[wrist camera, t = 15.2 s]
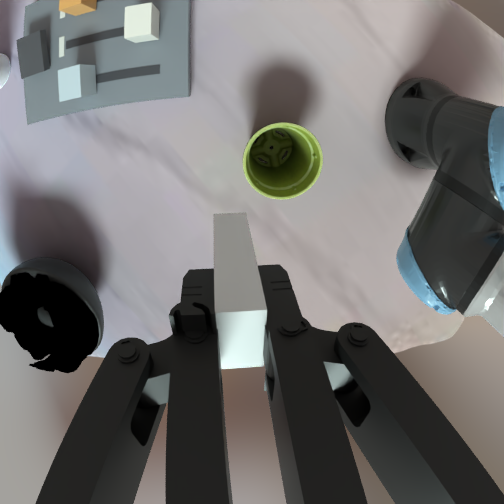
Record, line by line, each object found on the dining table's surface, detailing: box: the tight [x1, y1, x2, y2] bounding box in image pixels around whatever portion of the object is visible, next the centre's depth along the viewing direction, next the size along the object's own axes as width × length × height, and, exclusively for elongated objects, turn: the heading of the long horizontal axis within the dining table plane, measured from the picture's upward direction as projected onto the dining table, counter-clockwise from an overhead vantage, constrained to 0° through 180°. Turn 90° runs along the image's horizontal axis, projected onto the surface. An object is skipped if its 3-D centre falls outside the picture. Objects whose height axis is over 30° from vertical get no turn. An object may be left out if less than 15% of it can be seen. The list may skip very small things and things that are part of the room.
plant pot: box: [243, 122, 323, 199], centre depth 38 cm, size 9×9×9 cm
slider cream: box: [124, 2, 160, 43], centre depth 25 cm, size 3×4×5 cm
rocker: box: [17, 29, 50, 79], centre depth 25 cm, size 4×6×2 cm, turn 179°
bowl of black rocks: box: [0, 257, 104, 373], centre depth 41 cm, size 20×20×19 cm
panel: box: [24, 0, 191, 125], centre depth 28 cm, size 24×19×4 cm
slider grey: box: [58, 64, 97, 102], centre depth 28 cm, size 3×4×5 cm
